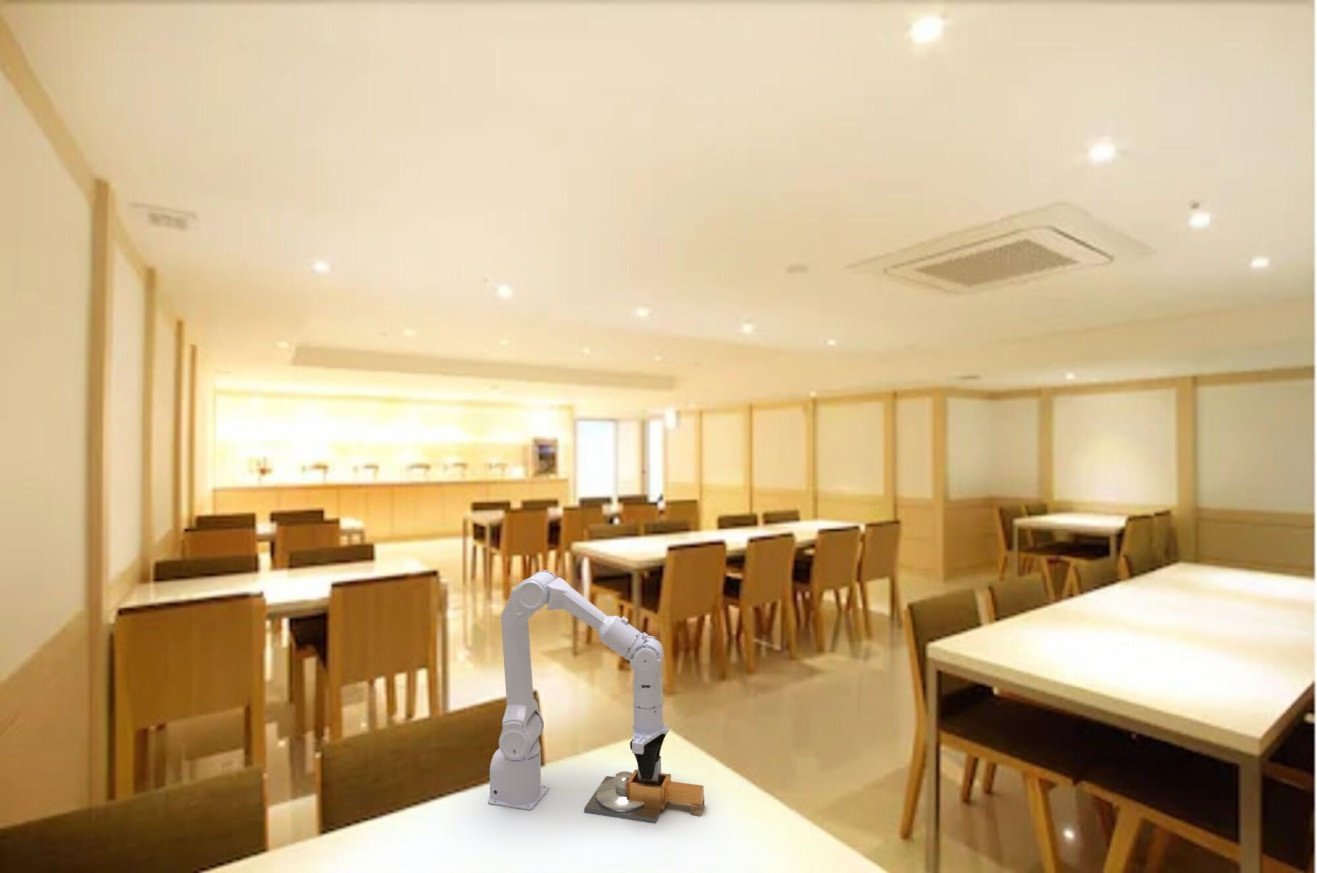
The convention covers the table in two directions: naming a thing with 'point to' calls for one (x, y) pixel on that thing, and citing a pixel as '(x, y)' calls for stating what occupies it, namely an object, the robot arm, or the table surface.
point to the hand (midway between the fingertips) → (648, 774)
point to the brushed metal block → (656, 775)
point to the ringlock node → (642, 797)
